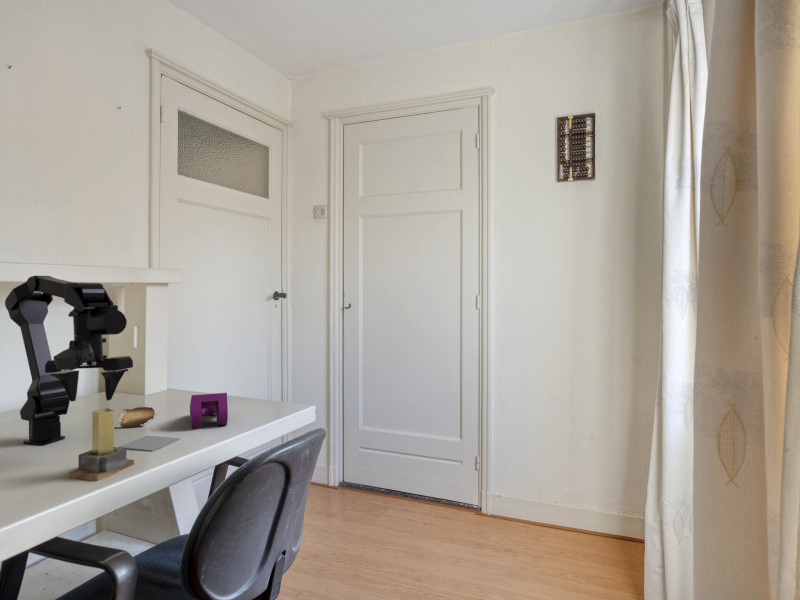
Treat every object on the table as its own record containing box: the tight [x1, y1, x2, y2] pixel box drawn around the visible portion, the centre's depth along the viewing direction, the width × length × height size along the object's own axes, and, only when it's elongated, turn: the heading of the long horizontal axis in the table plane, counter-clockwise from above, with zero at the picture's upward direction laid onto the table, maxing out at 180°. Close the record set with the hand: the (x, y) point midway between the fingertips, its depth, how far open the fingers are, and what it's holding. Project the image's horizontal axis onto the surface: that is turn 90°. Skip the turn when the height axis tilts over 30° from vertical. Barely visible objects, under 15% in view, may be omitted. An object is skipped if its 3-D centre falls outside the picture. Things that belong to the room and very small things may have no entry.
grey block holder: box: [68, 446, 135, 482], centre depth 108 cm, size 7×10×4 cm
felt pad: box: [118, 435, 181, 452], centre depth 126 cm, size 10×10×1 cm
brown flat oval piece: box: [114, 406, 155, 429], centre depth 152 cm, size 25×10×1 cm, turn 24°
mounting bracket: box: [189, 392, 229, 429], centre depth 148 cm, size 9×8×18 cm
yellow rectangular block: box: [91, 408, 115, 456], centre depth 107 cm, size 3×3×13 cm
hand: (90, 400), depth 119 cm, fingers open, 9 cm apart
